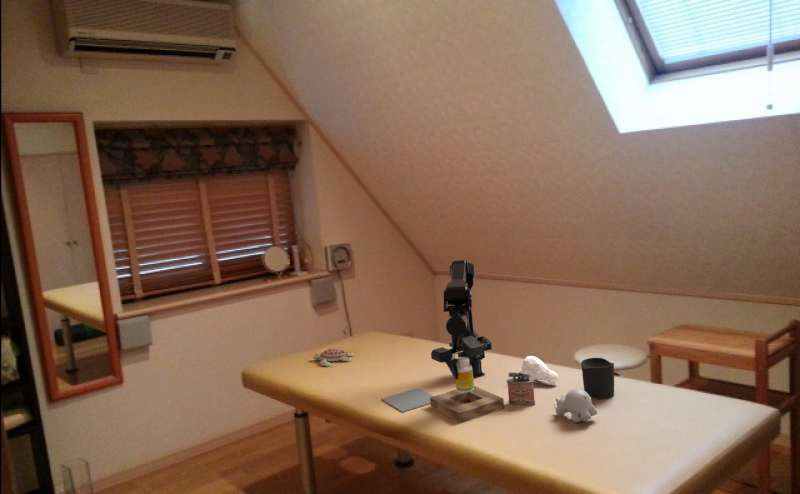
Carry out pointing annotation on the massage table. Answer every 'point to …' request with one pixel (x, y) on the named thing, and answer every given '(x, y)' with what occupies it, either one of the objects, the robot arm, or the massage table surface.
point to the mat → (409, 400)
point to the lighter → (520, 389)
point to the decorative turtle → (332, 356)
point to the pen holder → (598, 377)
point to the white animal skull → (538, 370)
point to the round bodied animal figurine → (576, 405)
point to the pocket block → (477, 407)
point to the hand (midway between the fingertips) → (464, 376)
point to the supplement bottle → (464, 375)
